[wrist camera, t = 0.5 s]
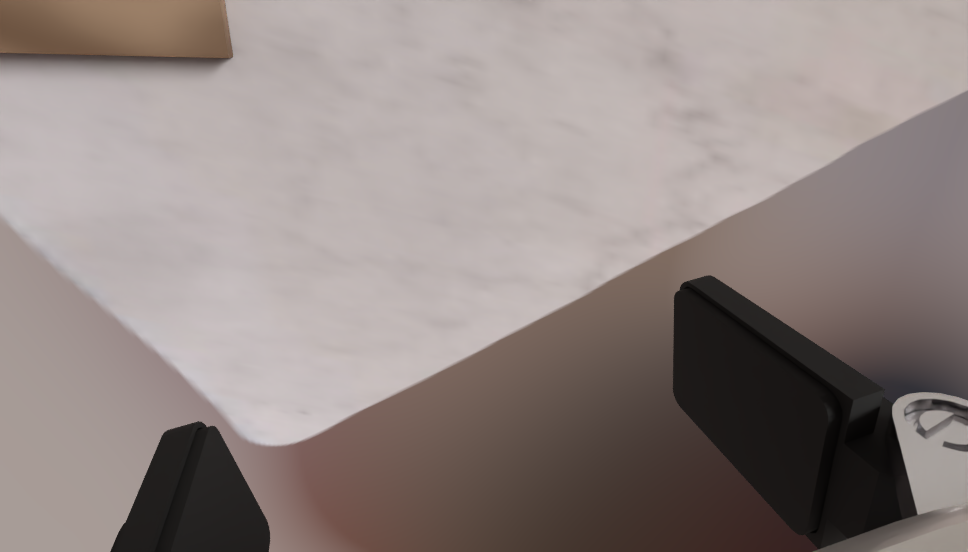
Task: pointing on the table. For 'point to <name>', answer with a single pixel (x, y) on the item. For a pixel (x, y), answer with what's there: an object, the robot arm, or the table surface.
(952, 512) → the robot arm
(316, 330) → the table surface
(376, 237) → the table surface
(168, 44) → the spindle stand
